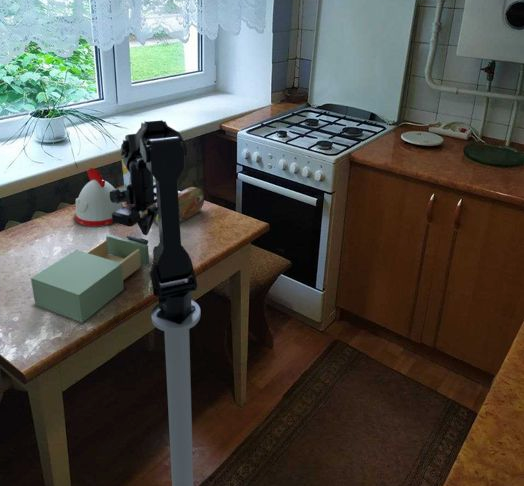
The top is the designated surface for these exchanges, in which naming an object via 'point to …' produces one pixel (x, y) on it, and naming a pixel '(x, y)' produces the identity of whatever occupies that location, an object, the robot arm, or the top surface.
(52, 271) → the cabinet
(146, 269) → the top surface
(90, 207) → the kitchen timer
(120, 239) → the drawer
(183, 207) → the tin
